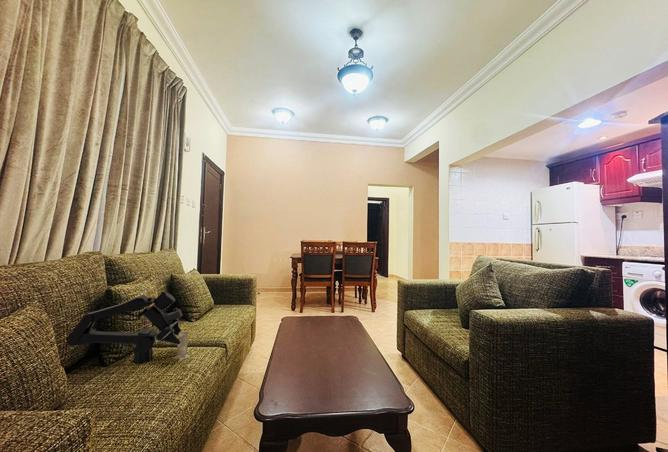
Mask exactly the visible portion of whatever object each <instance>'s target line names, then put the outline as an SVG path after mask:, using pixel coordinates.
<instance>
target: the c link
mask: <svg viewBox="0 0 668 452" xmlns="http://www.w3.org/2000/svg"><path fill="white" fill-rule="evenodd" d="M181 331H182V330H181ZM188 337H189V330H187V331H184V330H183V331H182V332H180V333H179V335H177V338H178V339H179V341H180V342H181V343H180V344H177V346H176V347H177V349H176V350H177V351H176V356H177V359H176V360H180V359H183V358H185V355H188V354H187V352H188V340H189V338H188ZM185 359H186V358H185ZM183 360H184V359H183Z"/></svg>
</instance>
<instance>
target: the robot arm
mask: <svg viewBox="0 0 668 452" xmlns="http://www.w3.org/2000/svg"><path fill="white" fill-rule="evenodd" d="M174 302H176V298H175V297H174V296H173V295H172V294H170V293H169V292H166V290H163V291H162V292H161V293H160V294H159V295H158V296H157V297H148V296H147V295H145V294H140V295H138V296H135V297H134V298H132V299H128V300H127V301H125V302H122V303H120V304H117V305H116V304H114V305H113V306H110V307H106V308H101V309H98V310H95V311H91V312H89V313H87V314H85V315H84V316H83V317H82V318H81V320H80V321H79V322H78V323H77V325H76V326H75V327H74V328H73V330H72V331H71V332H69V333H68V334H69V337H68V338H67V343H68V345H67V346H68V347H76V346H83V345H88V344H93V343H97V344H100V343H101V344H131V345H133V346H134V347H133V349H132V350H133V363H135V364H138V365H139V364H144V363H147V362H149V361H150V360H151V359H152V358H153V353H154V350H153V346H154V344H155V343H156V342H157V341H158V342H160V341H161V342H165V343H171V344H175V345H178V344H180V343H181V342H180V341H179V339H178V335H179V333H180V332H182V329H181V327H180V318H182V317H183V313H182V310H181V308H178V307H175V308H173V309H172V312H170V313H167V312H162V311H163V310H164V311H165V310H166V309H168V308H169V307H170V306H171V305H172V304H174ZM137 311H138V312H137ZM131 312H137V319H141V317H144V318H145V319H146V320H147V321H148V322H150V323H151V326H152V327H155V328H156V329H158V330H154V329H153V328H141V329H140V330H139V331H137V332H121V331H98V330H96V329H94V328H92V327H93V326H94V324H95V322H97V321H100V320H103V319H107V318H109V317H113V316H116V315H119V314H122V313H123V314H124V313H131Z"/></svg>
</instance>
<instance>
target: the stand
mask: <svg viewBox="0 0 668 452" xmlns="http://www.w3.org/2000/svg"><path fill="white" fill-rule="evenodd" d="M188 357H191V355H188V354H187V355H185V358H183V359H179V360H181V361H182V360H184V359H187V358H188ZM173 359H175V360H178V359H177V355H176V356H175V357H173Z"/></svg>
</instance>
